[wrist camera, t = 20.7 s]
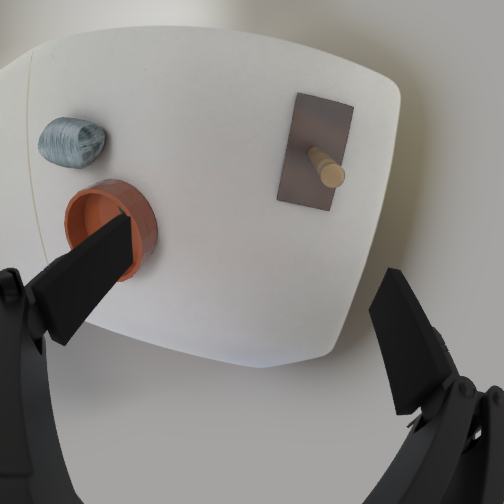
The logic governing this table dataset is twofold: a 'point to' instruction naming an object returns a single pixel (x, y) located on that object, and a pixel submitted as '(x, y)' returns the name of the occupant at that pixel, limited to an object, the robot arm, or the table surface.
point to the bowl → (105, 209)
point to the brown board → (309, 135)
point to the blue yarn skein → (71, 142)
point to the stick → (326, 167)
